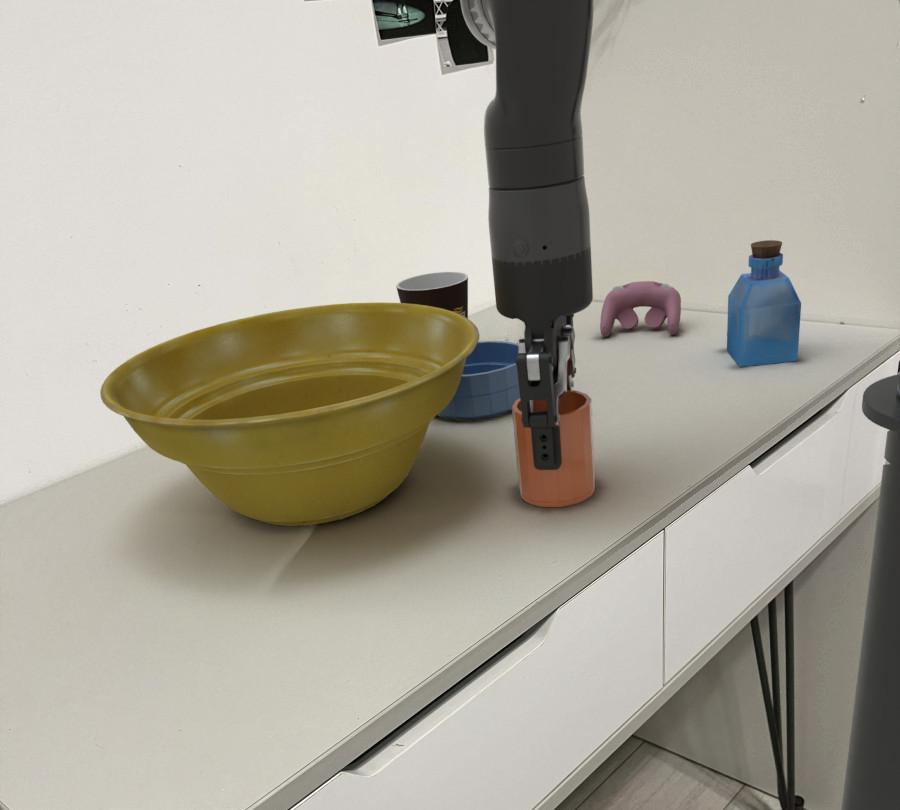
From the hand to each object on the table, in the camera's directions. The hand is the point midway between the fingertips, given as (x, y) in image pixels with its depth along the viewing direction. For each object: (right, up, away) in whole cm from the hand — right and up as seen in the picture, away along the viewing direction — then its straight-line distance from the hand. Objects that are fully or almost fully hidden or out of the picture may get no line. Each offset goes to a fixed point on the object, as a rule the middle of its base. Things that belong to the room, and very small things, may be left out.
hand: (554, 450), depth 80 cm
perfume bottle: (+26, +15, +26) cm, 40 cm away
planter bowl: (-21, -3, +8) cm, 22 cm away
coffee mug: (-11, +16, +38) cm, 43 cm away
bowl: (-6, +9, +24) cm, 26 cm away
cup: (+1, -3, +2) cm, 4 cm away
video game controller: (+15, +21, +40) cm, 47 cm away
